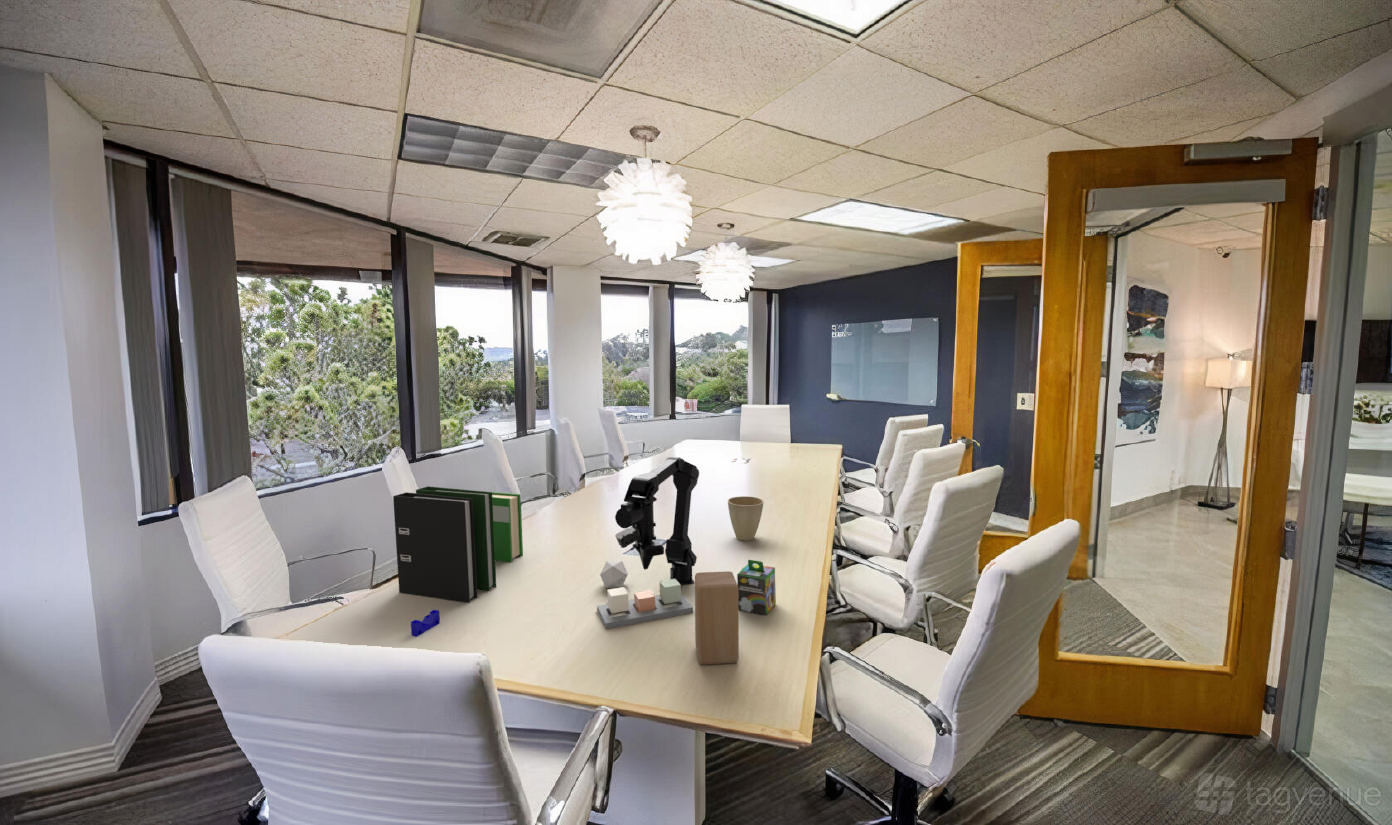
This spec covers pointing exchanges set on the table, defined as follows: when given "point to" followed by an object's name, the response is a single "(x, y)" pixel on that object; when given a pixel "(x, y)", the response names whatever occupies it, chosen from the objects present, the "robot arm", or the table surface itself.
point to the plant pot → (745, 516)
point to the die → (614, 574)
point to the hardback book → (507, 526)
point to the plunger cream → (618, 600)
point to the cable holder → (425, 623)
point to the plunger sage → (670, 591)
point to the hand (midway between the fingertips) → (645, 569)
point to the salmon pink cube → (644, 601)
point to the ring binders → (445, 543)
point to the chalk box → (756, 588)
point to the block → (716, 618)
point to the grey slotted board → (643, 613)
